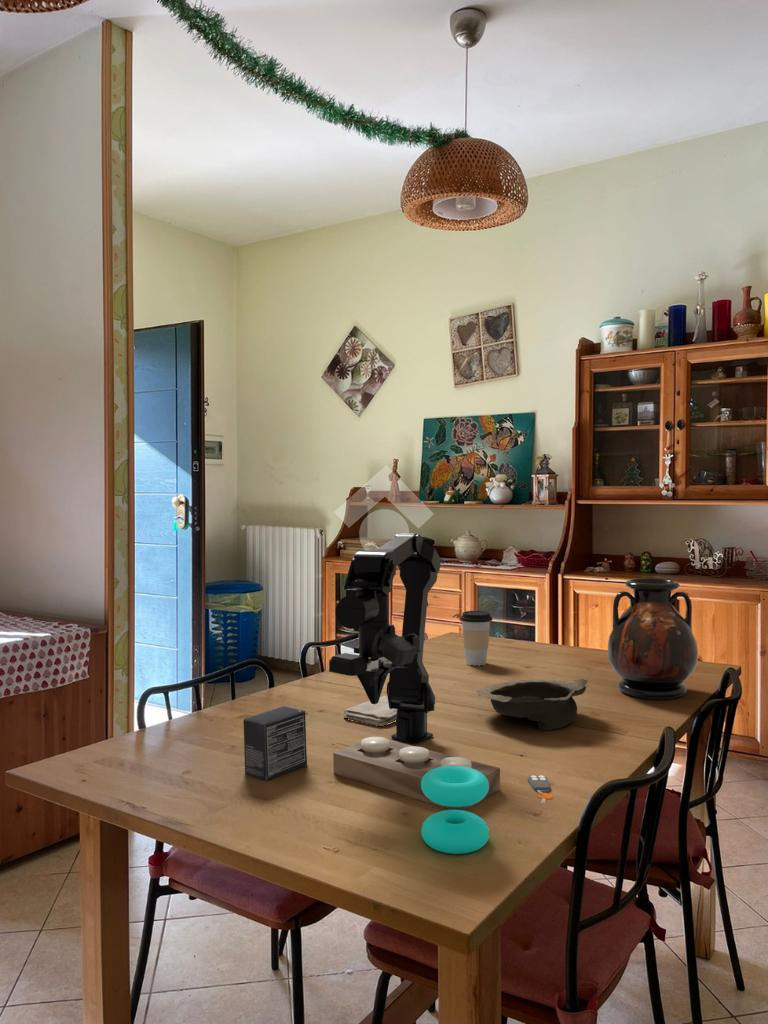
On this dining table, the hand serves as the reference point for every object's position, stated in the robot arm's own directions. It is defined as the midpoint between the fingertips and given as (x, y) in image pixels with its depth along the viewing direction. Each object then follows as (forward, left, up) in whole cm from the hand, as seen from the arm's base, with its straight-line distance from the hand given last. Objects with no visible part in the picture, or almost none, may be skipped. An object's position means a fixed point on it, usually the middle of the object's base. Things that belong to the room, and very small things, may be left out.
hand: (374, 703), depth 146 cm
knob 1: (0, 0, -12) cm, 12 cm away
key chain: (-9, +30, -13) cm, 34 cm away
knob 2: (0, +18, -12) cm, 22 cm away
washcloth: (-29, -21, -13) cm, 38 cm away
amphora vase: (-84, +20, -13) cm, 87 cm away
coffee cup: (-84, -32, -13) cm, 91 cm away
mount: (0, +9, -12) cm, 15 cm away
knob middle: (0, +9, -12) cm, 15 cm away
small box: (+11, -15, -13) cm, 22 cm away
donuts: (+15, +28, -13) cm, 34 cm away
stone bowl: (-46, +7, -13) cm, 48 cm away
